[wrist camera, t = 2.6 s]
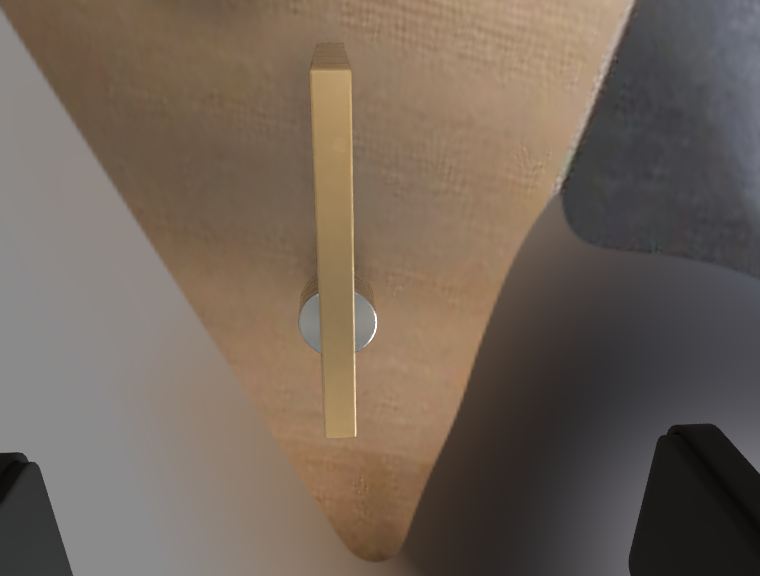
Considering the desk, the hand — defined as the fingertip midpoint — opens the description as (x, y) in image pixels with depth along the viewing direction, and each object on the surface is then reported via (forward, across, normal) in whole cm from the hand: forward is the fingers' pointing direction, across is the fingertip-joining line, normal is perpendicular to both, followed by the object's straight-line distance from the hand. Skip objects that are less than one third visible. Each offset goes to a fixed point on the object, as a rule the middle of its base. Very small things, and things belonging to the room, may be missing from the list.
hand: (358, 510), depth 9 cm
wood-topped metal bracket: (+17, 0, 0) cm, 17 cm away
